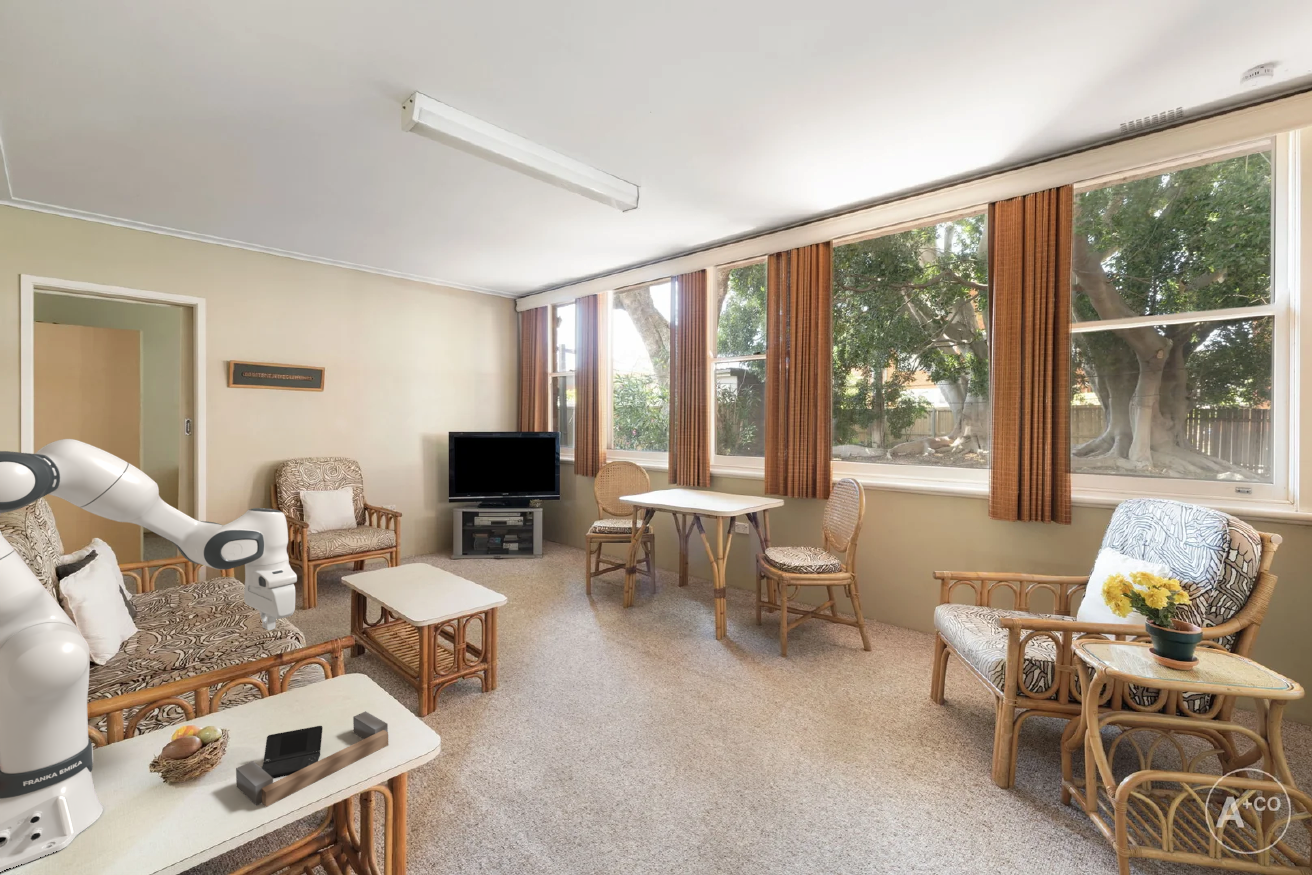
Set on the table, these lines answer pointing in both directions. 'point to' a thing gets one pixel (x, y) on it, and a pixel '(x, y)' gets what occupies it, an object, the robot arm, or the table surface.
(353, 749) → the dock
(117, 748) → the table surface
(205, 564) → the robot arm
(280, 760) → the handheld gaming console
